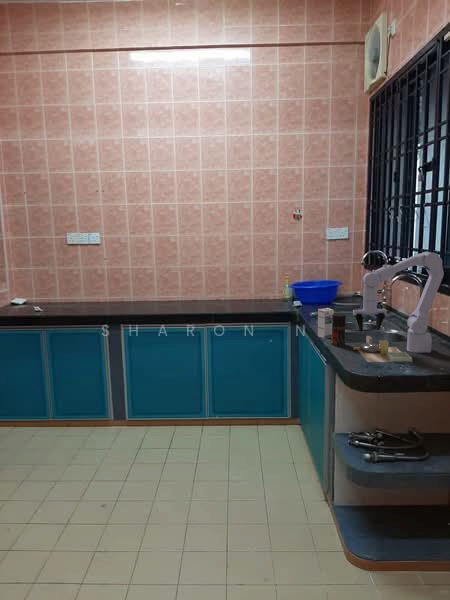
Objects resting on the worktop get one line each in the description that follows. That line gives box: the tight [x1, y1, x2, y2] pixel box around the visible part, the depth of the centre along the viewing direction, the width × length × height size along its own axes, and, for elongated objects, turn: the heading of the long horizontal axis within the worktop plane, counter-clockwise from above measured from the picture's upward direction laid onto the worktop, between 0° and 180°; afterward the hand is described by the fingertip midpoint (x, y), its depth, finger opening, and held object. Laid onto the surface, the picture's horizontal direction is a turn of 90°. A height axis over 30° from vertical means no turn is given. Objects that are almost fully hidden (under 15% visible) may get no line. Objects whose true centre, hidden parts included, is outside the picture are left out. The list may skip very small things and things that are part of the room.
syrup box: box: [317, 307, 335, 339], centre depth 220 cm, size 6×6×14 cm
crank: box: [352, 335, 379, 353], centre depth 195 cm, size 13×12×4 cm
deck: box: [357, 346, 402, 363], centre depth 188 cm, size 18×22×1 cm
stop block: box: [378, 339, 390, 356], centre depth 187 cm, size 3×3×6 cm
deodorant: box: [331, 313, 347, 347], centre depth 203 cm, size 6×6×15 cm
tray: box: [386, 351, 413, 363], centre depth 181 cm, size 8×8×2 cm
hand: (369, 330), depth 195 cm, fingers open, 7 cm apart
